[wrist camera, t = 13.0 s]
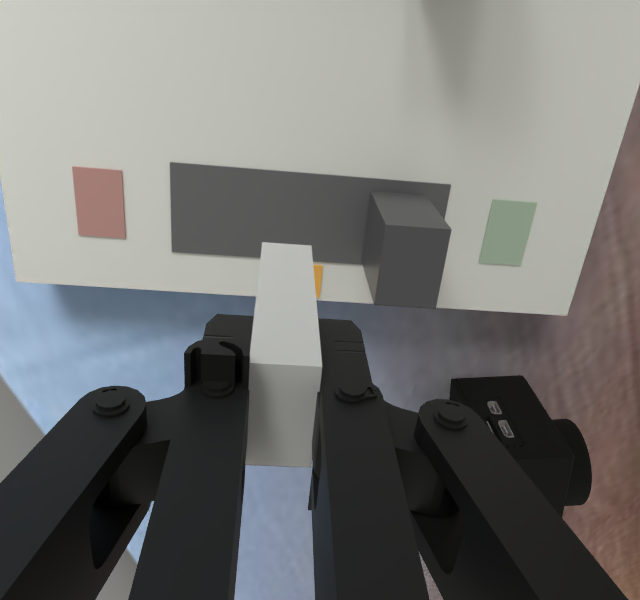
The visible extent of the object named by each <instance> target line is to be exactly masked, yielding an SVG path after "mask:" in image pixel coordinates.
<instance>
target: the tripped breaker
mask: <svg viewBox="0 0 640 600" xmlns="http://www.w3.org/2000/svg"><path fill="white" fill-rule="evenodd" d="M451 230H452V229H451V228H450V227H449V225H448V224H447V223H446V221H445V220H444V219H443V217H442V216H441V214H440V213H439V212H438V210H437V209H436V208H435V206H434V205H433V204H432V202H431V201H430V200H429V198H428V197H427V196H426V195H418V194H405V193H392V192H379V191H370V198H369V206H368V213H367V221H366V229H365V236H364V244H363V251H362V259H361V261H362V265H363V268H364V272H365V275H366V279H367V282H368V286H369V289H370V293H371V296H372V300H373V303H374V305H384V306H401V307H417V308H433V309H436V305H437V300H438V295H439V290H440V285H441V280H442V275H443V270H444V265H445V260H446V255H447V250H448V245H449V240H450V235H451Z"/></svg>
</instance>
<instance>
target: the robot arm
mask: <svg viewBox="0 0 640 600" xmlns="http://www.w3.org/2000/svg"><path fill="white" fill-rule="evenodd" d="M184 371H185V388H184V390H183V391H182V392H180V393H179V394H177V395H174V396H172V397H169V398H165V399H161V400H155V401H149V402H146V401H145V397H144V396H143V395H142V394H141V393H140V392H139V391H138V390H135V389H133V388H130V387H126V386H109V387H103V388H99V389H97V390H94V391H92V392H89V393H88V394H86V395H85V396H84V397H82V398H81V399H80V400H79V401H78V402H77V403H76V404H75V405H74V406H73V407H72V408H71V409H70V410H69V411H68V412H67V413H66V414H65V415H64V417H63V418H62V419H61V420H60V421H59V422H58V423H57V424H56V425H55V426H54V427H53V428H52V429H51V430H50V431H49V432H48V433H47V435H46V436H45V437H44V438H43V439H42V440H41V441H40V442H39V443H38V444H37V445H36V446H35V447H34V448H33V449H32V450H31V451H30V452H29V454H28V455H27V456H26V457H25V458H24V459H23V460H22V461H21V462H20V463H19V464H18V465H17V466H16V467H15V468H14V470H13V471H11V473H10V474H9V475H8V476H7V477H6V478H5V479H4V480H3V481H2V482H1V483H0V600H95V599H96V597H97V596H98V594H99V592H100V591H101V589H102V587H103V586H104V584H105V582H106V581H107V579H108V577H109V576H110V574H111V572H112V570H113V569H114V567H115V566H116V564H117V562H118V560H119V559H120V557H121V555H122V554H123V552H124V550H125V549H126V547H127V545H128V544H129V542H130V540H131V539H132V537H133V535H134V534H135V532H136V530H137V529H138V527H139V525H140V524H141V522H142V520H143V519H144V517H145V515H146V514H147V512H148V510H149V507H150V504H151V501H154V500H155V501H154V505H153V508H152V512H151V516H150V520H149V523H148V527H147V531H146V535H145V539H144V542H143V546H142V550H141V554H140V557H139V561H138V565H137V569H136V573H135V576H134V580H133V584H132V588H131V592H130V595H129V599H128V600H234V594H235V582H236V571H237V560H238V549H239V538H240V526H241V515H242V504H243V493H244V480H245V465H258V466H285V467H311V463H312V461H313V469H312V477H311V486H310V495H309V504H308V510H312V530H313V555H314V580H315V600H429V595H428V591H427V587H426V582H425V578H424V574H423V569H422V565H421V560H420V556H419V552H420V554H421V556H422V558H423V560H424V562H425V564H426V566H427V568H428V570H429V572H430V574H431V576H432V578H433V580H434V582H435V583H436V585H437V587H438V589H439V591H440V593H441V595H442V597H443V599H444V600H628V599H627V598H626V597H625V595H624V594H623V593H622V592H621V590H620V589H619V588H618V587H617V585H616V584H615V583H614V582H613V581H612V579H611V578H610V577H609V576H608V574H607V573H606V572H605V571H604V569H603V568H602V567H601V566H600V564H599V563H598V562H597V561H596V560H595V558H594V557H593V556H592V555H591V553H590V552H589V551H588V550H587V548H586V547H585V546H584V545H583V543H582V542H581V541H580V540H579V539H578V537H577V536H576V535H575V534H574V532H573V531H572V530H571V529H570V527H569V526H568V525H567V524H566V522H565V521H564V520H563V519H562V518H561V516H560V515H559V514H558V513H557V511H556V510H555V509H554V508H553V506H552V505H551V504H550V503H549V502H548V500H547V499H546V498H545V497H544V495H543V494H542V493H541V492H540V490H539V489H538V488H537V487H536V485H535V484H534V483H533V482H532V481H531V479H530V478H529V477H528V476H527V474H526V473H525V472H524V471H523V469H522V468H521V467H520V466H519V464H518V463H517V462H516V461H515V460H514V458H513V457H512V456H511V455H510V453H509V452H508V451H507V450H506V448H505V447H504V446H503V445H502V443H501V442H500V441H499V440H498V439H497V437H496V436H495V435H494V434H493V432H492V431H491V430H490V429H489V427H488V426H487V425H486V424H485V423H484V421H483V420H482V419H481V418H480V416H479V415H478V414H477V413H475V412H474V411H473V410H472V409H471V408H469V407H467V406H465V405H463V404H461V403H459V402H455V401H451V400H444V399H435V400H432V401H428V402H426V403H425V404H423V405H422V406H421V407H420V410H419V413H416V412H412V411H408V410H405V409H401V408H398V407H395V406H393V405H391V404H389V403H387V402H386V401H384V400H383V395H382V394H381V392H380V390H379V388H378V387H376V386H375V385H374V384H373V383H372V380H371V376H370V371H369V366H368V362H367V357H366V353H365V348H364V344H363V338H362V334H361V330H360V329H359V328H358V327H357V326H356V325H355V324H354V323H353V322H352V321H351V320H333V319H318V312H317V301H316V290H315V279H314V268H313V257H312V246H311V245H296V244H282V243H267V242H262V248H261V257H260V266H259V275H258V284H257V293H256V302H255V311H254V316H240V315H223V314H217V315H216V316H215V317H214V318H212V319H211V320H210V321H209V322H208V323H207V324H206V328H205V332H204V337H203V340H201V341H197V342H195V343H194V344H192V345H190V346H189V347H188V348H187V350H186V351H185V353H184ZM418 550H419V552H418Z"/></svg>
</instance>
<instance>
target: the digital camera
mask: <svg viewBox="0 0 640 600" xmlns="http://www.w3.org/2000/svg"><path fill="white" fill-rule="evenodd" d="M461 389H462V390H461ZM462 391H463V392H462ZM450 400H451V401H455V402H459V403H461V404H463V405H465V406H467V407H469V408H471V409H472V410H473V411H474V412H475V413H477V414H478V415H479V416H480V418H481V419H482V420H483V421H484V423H485V424H486V425H487V426H488V427H489V429H490V430H491V431H492V432H493V434H494V435H495V436H496V437H497V439H498V440H499V441H500V442H501V443H502V445H503V446H504V447H505V448H506V450H507V451H508V452H509V453H510V455H511V456H512V457H513V458H514V460H515V461H516V462H517V463H518V464H519V466H520V467H521V468H522V469H523V471H524V472H525V473H526V474H527V476H528V477H529V478H530V479H531V481H532V482H533V483H534V484H535V485H536V487H537V488H538V489H539V490H540V492H541V493H542V494H543V495H544V497H545V498H546V499H547V500H548V502H549V503H550V504H551V505H552V506H553V508H554V509H555V510H556V511H557V513H558V514H559V515H560V516H561V518H562V515H563V510H564V506H573V505H582V504H584V503H585V502H586V501H587V499H588V497H589V494H590V491H591V483H592V472H591V463H590V457H589V453H588V449H587V446H586V443H585V441H584V438H583V436H582V434H581V432H580V430H579V429H578V427H577V426H576V425H575V424H574V423H573V422H572V421H570V420H568V419H557V420H551V418H550V417H549V415H548V414H547V412H546V410H545V409H544V407H543V406H542V404H541V403H540V401H539V400H538V398H537V396H536V395H535V393H534V392H533V390H532V389H531V387H530V386H529V384H528V382H527V381H526V379H525V378H524V377H523V376H501V377H481V378H460V379H451V389H450ZM467 402H468V403H467ZM468 404H469V405H468Z"/></svg>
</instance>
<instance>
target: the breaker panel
mask: <svg viewBox="0 0 640 600" xmlns="http://www.w3.org/2000/svg"><path fill="white" fill-rule="evenodd" d="M639 84H640V0H0V178H1V185H2V191H3V198H4V205H5V211H6V218H7V224H8V231H9V238H10V244H11V251H12V257H13V264H14V271H15V277H16V282H29V283H45V284H61V285H77V286H93V287H110V288H126V289H142V290H158V291H174V292H191V293H207V294H223V295H239V296H255V297H256V293H257V284H258V275H259V266H260V257H261V248H262V242H267V243H282V244H296V245H311V246H312V257H313V268H314V279H315V290H316V300H320V301H336V302H353V303H369V304H374V303H373V300H372V296H371V293H370V289H369V286H368V282H367V279H366V275H365V272H364V268H363V265H362V261H361V259H362V251H363V244H364V236H365V229H366V221H367V213H368V206H369V198H370V191H379V192H392V193H405V194H418V195H426V196H427V197H428V198H429V200H430V201H431V202H432V204H433V205H434V206H435V208H436V209H437V210H438V212H439V213H440V214H441V216H442V217H443V219H444V220H445V221H446V223H447V224H448V225H449V227H450V228H451V229H452V230H451V235H450V240H449V245H448V250H447V255H446V260H445V265H444V270H443V275H442V280H441V285H440V290H439V295H438V300H437V305H436V308H450V309H466V310H482V311H498V312H515V313H531V314H547V315H563V316H567V314H568V311H569V308H570V304H571V301H572V298H573V295H574V292H575V289H576V285H577V282H578V279H579V276H580V273H581V269H582V266H583V263H584V260H585V257H586V253H587V250H588V247H589V244H590V241H591V237H592V234H593V231H594V228H595V225H596V222H597V218H598V215H599V212H600V209H601V206H602V202H603V199H604V196H605V193H606V190H607V186H608V183H609V180H610V177H611V174H612V171H613V167H614V164H615V161H616V158H617V155H618V151H619V148H620V145H621V142H622V139H623V135H624V132H625V129H626V126H627V123H628V119H629V116H630V113H631V110H632V107H633V104H634V100H635V97H636V94H637V91H638V88H639Z"/></svg>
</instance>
